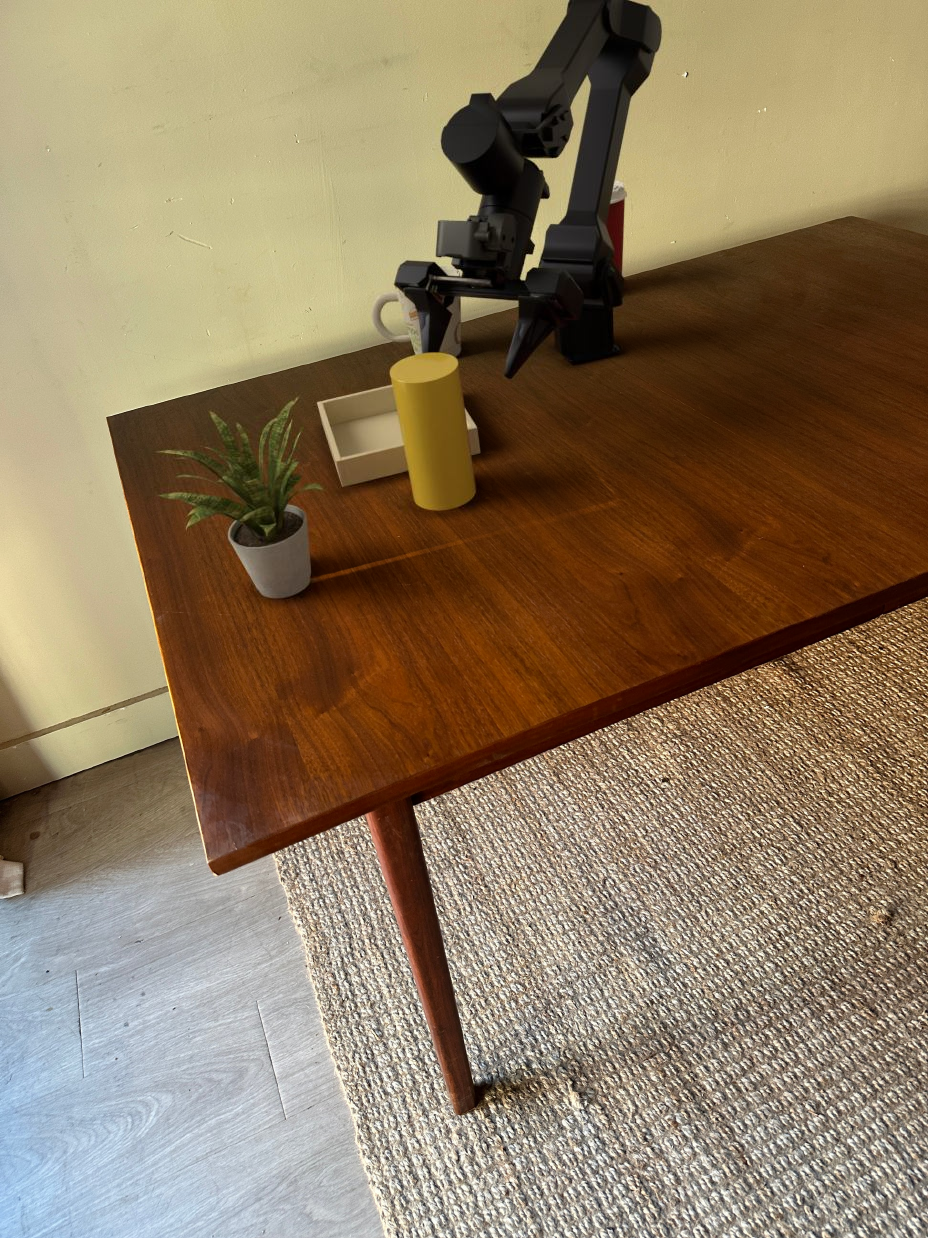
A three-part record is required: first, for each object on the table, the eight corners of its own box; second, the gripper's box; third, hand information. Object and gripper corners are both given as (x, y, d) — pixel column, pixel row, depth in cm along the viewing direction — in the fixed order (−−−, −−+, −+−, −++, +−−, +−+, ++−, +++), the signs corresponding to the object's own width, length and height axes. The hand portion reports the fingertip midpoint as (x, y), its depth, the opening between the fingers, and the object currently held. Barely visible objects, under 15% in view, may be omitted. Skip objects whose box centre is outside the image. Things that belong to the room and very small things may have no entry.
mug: (462, 366, 117) (452, 288, 111) (369, 369, 120) (354, 293, 114) (475, 339, 123) (465, 263, 117) (386, 343, 126) (372, 269, 120)
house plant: (265, 522, 94) (217, 372, 83) (384, 538, 89) (349, 380, 78) (182, 608, 84) (117, 450, 74) (311, 631, 79) (260, 465, 69)
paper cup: (637, 283, 131) (636, 178, 123) (614, 303, 127) (611, 196, 118) (588, 279, 135) (583, 177, 126) (564, 298, 130) (557, 194, 122)
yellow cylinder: (453, 473, 96) (433, 346, 88) (489, 495, 92) (472, 364, 83) (402, 497, 94) (376, 369, 85) (436, 521, 90) (413, 389, 81)
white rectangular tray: (447, 399, 110) (443, 372, 108) (481, 456, 98) (477, 427, 96) (323, 429, 108) (316, 401, 106) (343, 490, 97) (335, 461, 94)
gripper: (386, 175, 88) (345, 333, 88) (564, 176, 80) (519, 350, 80) (439, 232, 98) (402, 374, 98) (602, 238, 90) (562, 393, 90)
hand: (466, 372), depth 91 cm, fingers open, 9 cm apart
